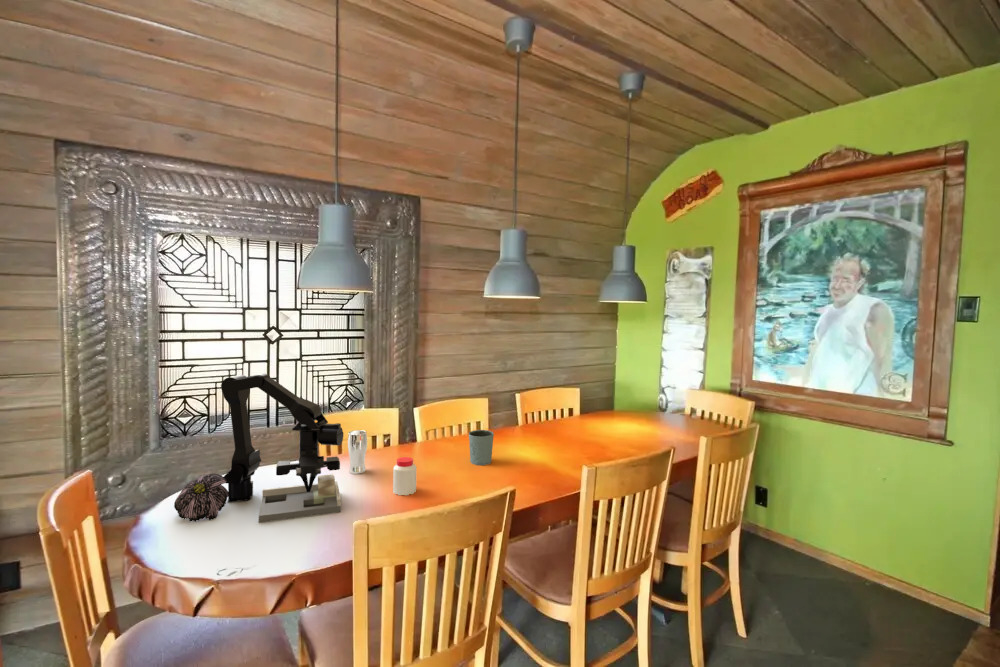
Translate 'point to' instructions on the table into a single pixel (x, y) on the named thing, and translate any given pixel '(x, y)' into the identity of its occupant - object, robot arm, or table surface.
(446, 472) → the table surface
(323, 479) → the ivory block
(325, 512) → the trap deck
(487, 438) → the grey cup
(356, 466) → the beer glass
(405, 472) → the pill bottle
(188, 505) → the decorative flower
